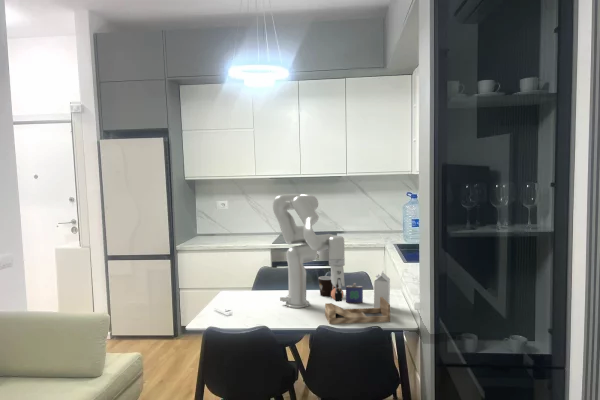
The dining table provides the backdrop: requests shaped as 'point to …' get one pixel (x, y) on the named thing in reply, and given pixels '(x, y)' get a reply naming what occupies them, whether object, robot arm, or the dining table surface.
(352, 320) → the wooden tray
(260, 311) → the dining table surface
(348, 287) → the flask
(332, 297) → the ball
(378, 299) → the milk carton
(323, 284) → the coffee mug
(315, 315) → the dining table surface
